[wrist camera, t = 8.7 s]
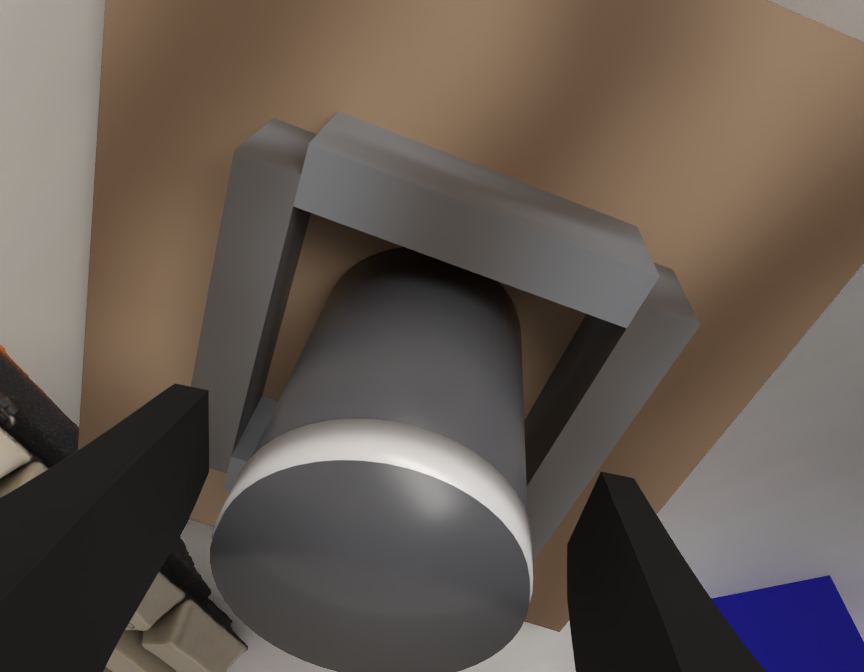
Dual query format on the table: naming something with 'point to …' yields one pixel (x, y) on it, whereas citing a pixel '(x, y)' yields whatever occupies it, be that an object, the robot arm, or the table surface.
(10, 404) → the mechanical keyboard
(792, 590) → the blue curved cradle
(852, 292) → the table surface
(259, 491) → the lens
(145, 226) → the mount board
